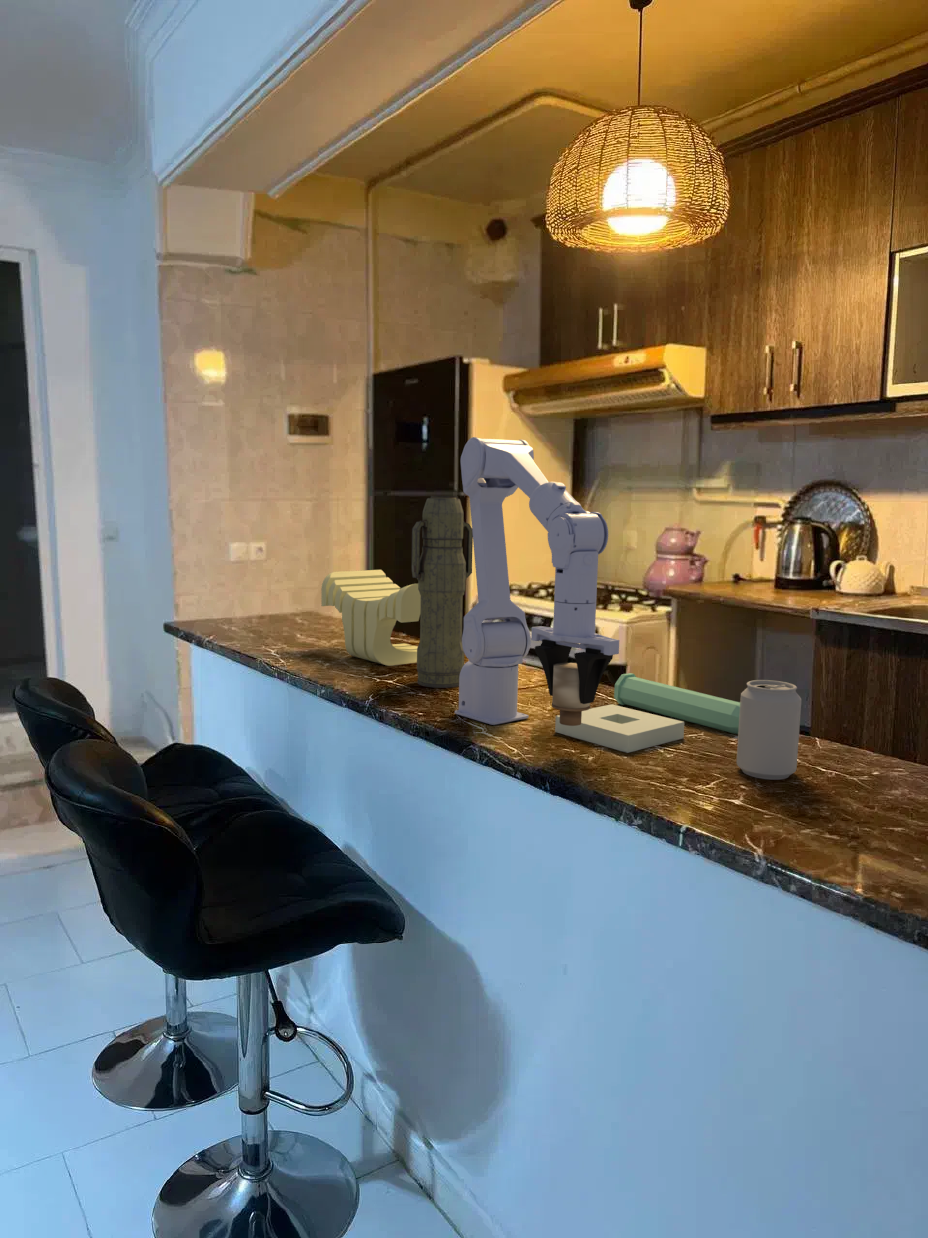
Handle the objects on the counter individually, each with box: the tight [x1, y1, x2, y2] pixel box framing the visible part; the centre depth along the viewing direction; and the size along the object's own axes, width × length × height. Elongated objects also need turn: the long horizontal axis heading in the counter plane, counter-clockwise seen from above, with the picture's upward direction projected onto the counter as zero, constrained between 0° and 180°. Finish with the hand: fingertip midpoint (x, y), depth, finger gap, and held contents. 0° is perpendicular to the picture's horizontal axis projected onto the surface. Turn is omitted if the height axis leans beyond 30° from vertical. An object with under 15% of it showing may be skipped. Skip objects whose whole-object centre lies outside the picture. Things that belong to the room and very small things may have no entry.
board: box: [554, 704, 685, 754], centre depth 137 cm, size 14×13×2 cm
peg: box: [551, 662, 591, 726], centre depth 126 cm, size 5×5×8 cm
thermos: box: [411, 495, 474, 689], centre depth 170 cm, size 9×12×35 cm
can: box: [736, 679, 802, 781], centre depth 119 cm, size 8×8×12 cm
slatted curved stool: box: [320, 569, 421, 667], centre depth 195 cm, size 30×16×18 cm, turn 40°
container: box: [613, 672, 740, 735], centre depth 148 cm, size 6×6×25 cm
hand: (571, 698), depth 126 cm, fingers closed on peg, 5 cm apart
